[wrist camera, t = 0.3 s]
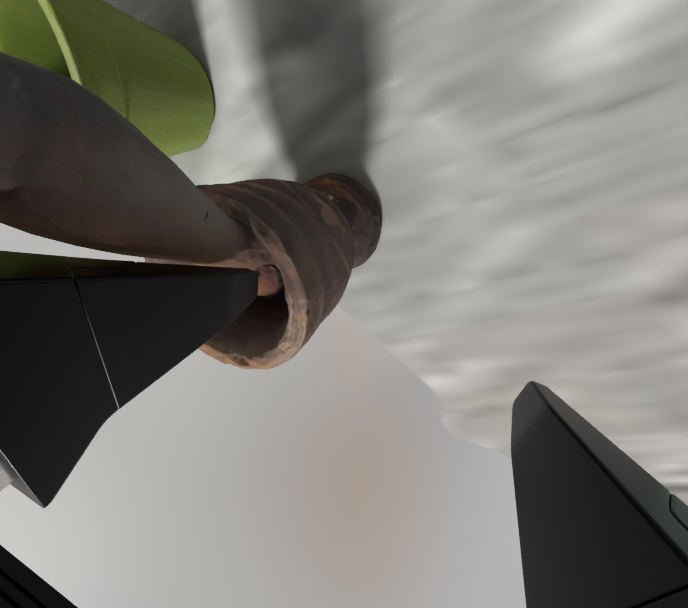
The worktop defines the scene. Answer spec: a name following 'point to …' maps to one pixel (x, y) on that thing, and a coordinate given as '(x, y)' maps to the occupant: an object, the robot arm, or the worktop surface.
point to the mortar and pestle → (178, 211)
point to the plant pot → (115, 65)
